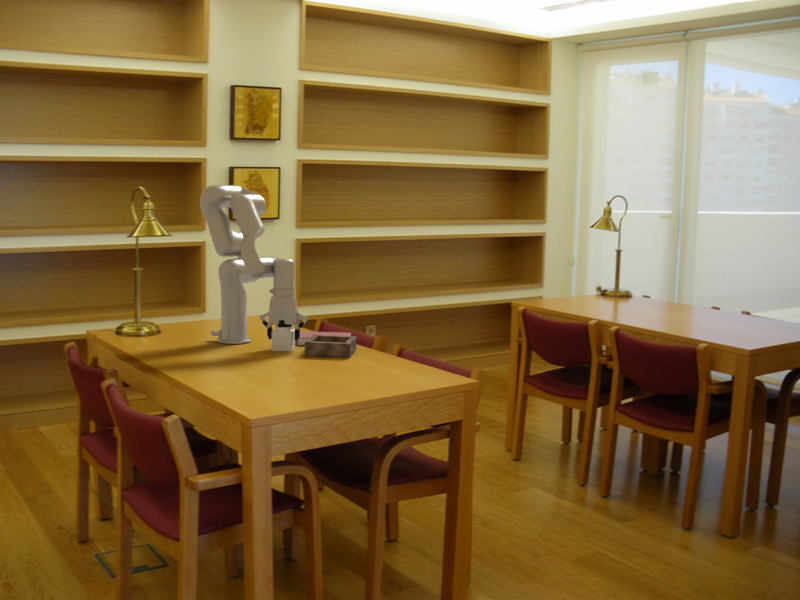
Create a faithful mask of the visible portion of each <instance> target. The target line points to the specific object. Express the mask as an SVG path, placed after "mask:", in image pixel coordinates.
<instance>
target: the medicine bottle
mask: <svg viewBox="0 0 800 600" xmlns="http://www.w3.org/2000/svg"><path fill="white" fill-rule="evenodd" d="M295 330H296V329H294V328H293V325H287V324H285V321H284V320H279V324H274V330H273V332H272V339H271V351H272V352H283V353H285V352H287V353H288V352H289V353H290V352H292V351H294V350H295V348H296V341H295Z"/></svg>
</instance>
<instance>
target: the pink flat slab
mask: <svg viewBox="0 0 800 600" xmlns="http://www.w3.org/2000/svg"><path fill="white" fill-rule="evenodd" d="M313 335H333V336H352V333H351V332H345V331H344V332H342V331H341V332H340V331H339V332H338V331H300V338H298V340H297V341H296V344H297V345H296V346H301V347H302V346H304V347H305V342H306V341H307V340H308V339H309V338H310V337H312V336H313Z"/></svg>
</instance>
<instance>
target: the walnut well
mask: <svg viewBox="0 0 800 600" xmlns="http://www.w3.org/2000/svg"><path fill="white" fill-rule="evenodd" d="M355 350H356V351H357V336H352V335H351V336H333V335H313V336H312V337H310V338H309V339H308V340H307V341H306V342H305V346H304V357H319V358H322V357H323V358H339V357H341V358H342V359H344V358H346V359H350V358H351V357H352V356H353V355H354V353H355V352H356V351H355ZM351 355H352V356H351Z"/></svg>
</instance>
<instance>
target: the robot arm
mask: <svg viewBox="0 0 800 600" xmlns="http://www.w3.org/2000/svg"><path fill="white" fill-rule="evenodd" d="M200 194H201V195H200V199H199V206H200V211H201V212H202V215H203V217H204V220H205V222H206V224H207V226H208V227H207V228H208V231H209V234H210V237H211V241H212V245H213V247H214V250H215V252H216V255H218V256H219V257H222V258H230V259H225V260H223V261H222V262H221V263H220V265H219V267H218V278H219V284H220V295H221V296H220V303H221V304H220V309H221V310H220V311H221V312H220V322H221V323H220V325H221V326H220V328H221V329H218V330H216V329H215V330H213V329H212V330H210V335H211V336H212V337H213V336H217V338H216V342H217V343H220V344H225V345H226V344H227V345H243V344H247V343H250V342H251V338H250V337H249V336H248V335H247V331H248V329H247V325H248V323H247V322H248V321H247V318H248V317H247V312H248V311H247V309H248V307H247V305H248V303H247V302H248V301H247V297H248V296H247V291H246V289H245V287H244V284H249V283H255V282H257V281H258V280H260V279H265V278H268V279H269V278H273V286H272V287H273V288H269V291H268V292H269V293H270V294H272V296H271V297H270V300H269V307H268V311H267V312H265V313H264V314H262V315H260V316H259V318H260V320H261V322H262V325H264V327H265V328H266V329H267V330H266V333H267V336H266V337H268V340H272V332H273V331H274V330H273V325H275V324H279V320H284V321H285V324H287V325H292V326H293V327H294V328H295V329H294V330H295V342H297V340H298V338H300V332H301V329H302V327H303V326H305V324H306V322H307V320H308V317H307V316H306V315H304V314H301V313H300V312H299V311H298V310H299V309H298V300H297V297H296V296H295V267H296V265H295V261H294V260H293V259H291V258H282V257H281V258H280V257H278V256H261V257H260V256H259V254H258V252H257V248H256V244H255V243H256V240H257V239H258V238H260V237H261V236H262V235H263V234H264V232H265V229H266V228H265V226H264V224H263V222H262V219H261V217H262V216H264V214H265V212H266V211H267V203H266V200H265V198H264V197H263V196H262V195H260V193H257V192H255V191H252V190H251V189H248V188H245V187H243V186H240V185H235V184H234V185H233V184H231V185H230V184H213V185H212V184H211V185H209V186H207V187H205V188H204V189H203V191H202V193H200ZM222 208H230V209H231V212H232V214H233V217H234V219H235V221H236V223H237V224H236V225H237V226H238V228H239V231H234V228H233V226H232V224H231V220H230V218H229V216H228V215H227V213H225V211H224V210H223V209H222ZM232 257H233V258H232ZM234 257H237V258H234ZM266 317H268V321H267V320H266ZM299 318H300V319H301V320H302V321H301V322H300V323H299V322H298V321H299Z"/></svg>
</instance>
